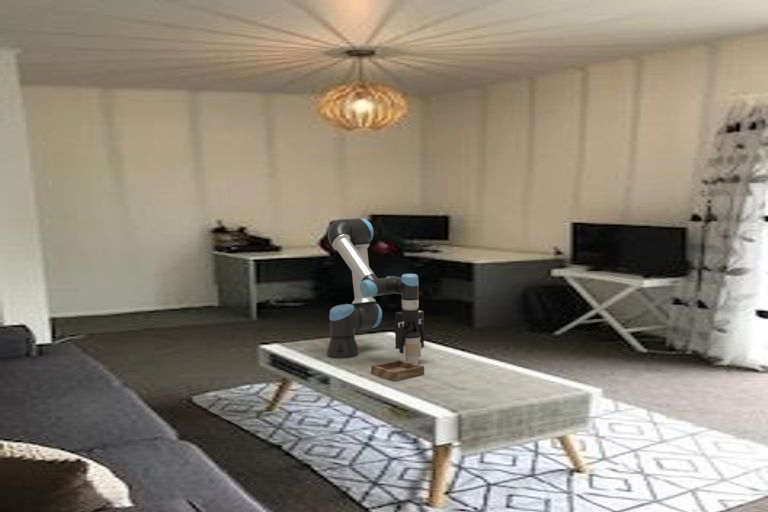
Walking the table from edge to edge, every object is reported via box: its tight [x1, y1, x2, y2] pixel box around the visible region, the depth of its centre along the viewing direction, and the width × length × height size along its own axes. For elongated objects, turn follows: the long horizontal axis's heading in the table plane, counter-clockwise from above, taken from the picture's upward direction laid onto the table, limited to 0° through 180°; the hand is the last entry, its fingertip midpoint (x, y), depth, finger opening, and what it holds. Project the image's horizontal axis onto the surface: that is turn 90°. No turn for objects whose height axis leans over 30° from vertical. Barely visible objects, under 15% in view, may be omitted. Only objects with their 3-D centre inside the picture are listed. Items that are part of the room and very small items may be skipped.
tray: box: [370, 359, 425, 382], centre depth 295 cm, size 16×16×4 cm
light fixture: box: [394, 309, 425, 350], centre depth 344 cm, size 10×14×18 cm
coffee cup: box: [404, 330, 421, 365], centre depth 312 cm, size 9×9×15 cm
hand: (410, 358), depth 312 cm, fingers closed on coffee cup, 8 cm apart
